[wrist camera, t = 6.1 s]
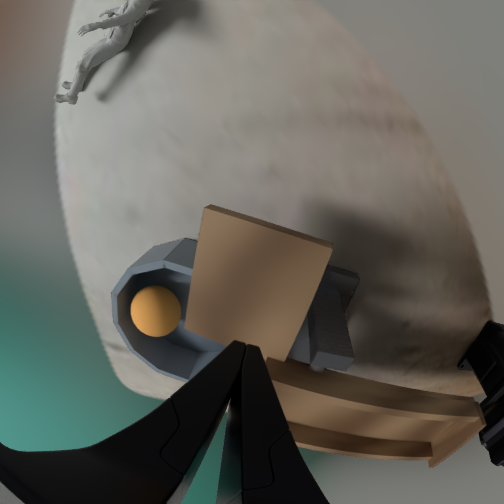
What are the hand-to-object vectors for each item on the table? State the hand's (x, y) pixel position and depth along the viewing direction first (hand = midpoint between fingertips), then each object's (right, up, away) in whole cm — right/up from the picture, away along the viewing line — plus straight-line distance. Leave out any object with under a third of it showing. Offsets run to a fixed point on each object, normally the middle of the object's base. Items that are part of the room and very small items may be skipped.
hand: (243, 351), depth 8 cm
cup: (-5, -1, +14) cm, 14 cm away
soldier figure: (-10, +20, +6) cm, 23 cm away
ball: (-7, -1, +11) cm, 14 cm away
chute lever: (+7, -4, +6) cm, 10 cm away
